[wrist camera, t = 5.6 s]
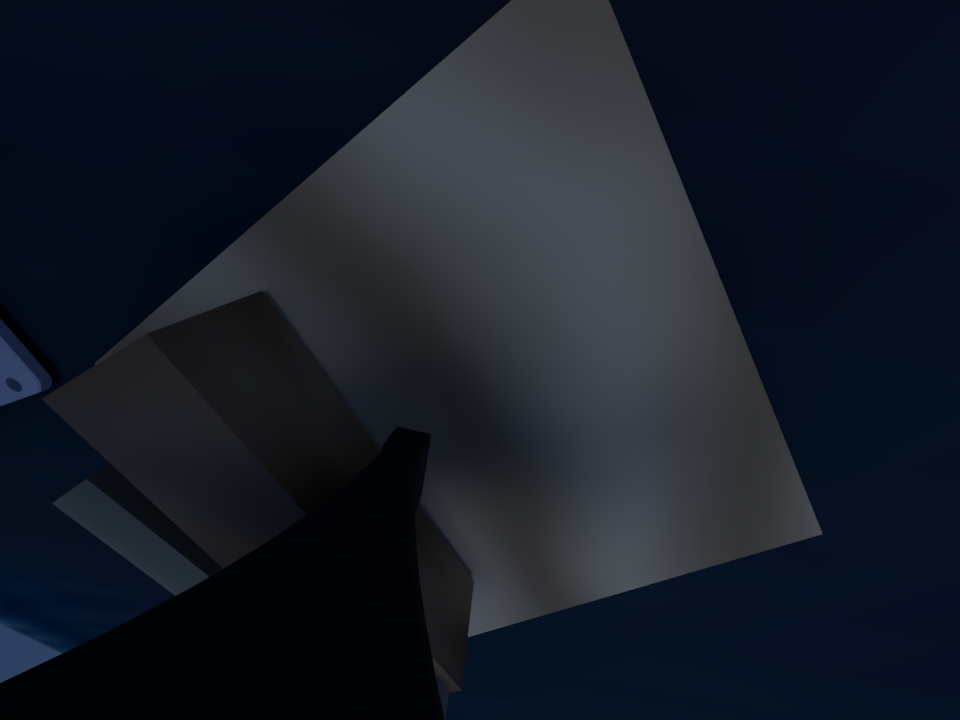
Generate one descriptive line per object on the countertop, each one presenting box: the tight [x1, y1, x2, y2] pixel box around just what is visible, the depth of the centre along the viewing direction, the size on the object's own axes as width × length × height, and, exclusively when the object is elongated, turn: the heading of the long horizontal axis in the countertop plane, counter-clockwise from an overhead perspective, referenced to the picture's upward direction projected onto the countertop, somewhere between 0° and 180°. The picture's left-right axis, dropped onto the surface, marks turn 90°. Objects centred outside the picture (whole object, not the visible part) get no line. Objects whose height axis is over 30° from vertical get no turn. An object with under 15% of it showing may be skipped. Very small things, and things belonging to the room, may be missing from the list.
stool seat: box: [52, 0, 822, 637], centre depth 10 cm, size 15×15×4 cm
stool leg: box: [42, 291, 474, 719], centre depth 9 cm, size 12×3×4 cm, turn 27°
